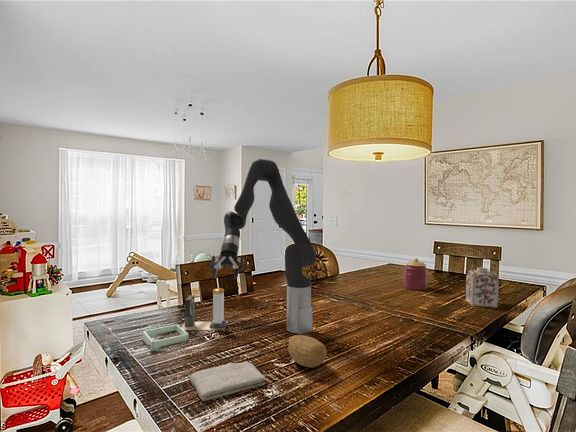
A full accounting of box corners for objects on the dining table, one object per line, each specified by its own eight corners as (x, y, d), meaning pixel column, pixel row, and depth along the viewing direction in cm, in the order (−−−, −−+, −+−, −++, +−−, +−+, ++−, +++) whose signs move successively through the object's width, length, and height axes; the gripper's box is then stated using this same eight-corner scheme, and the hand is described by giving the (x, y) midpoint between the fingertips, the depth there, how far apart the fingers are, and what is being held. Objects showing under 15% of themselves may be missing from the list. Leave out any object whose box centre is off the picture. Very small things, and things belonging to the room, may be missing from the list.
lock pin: (224, 323, 135) (224, 288, 134) (222, 327, 130) (223, 291, 130) (213, 323, 135) (214, 288, 134) (211, 327, 130) (212, 291, 130)
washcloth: (267, 386, 91) (267, 374, 91) (201, 405, 82) (201, 392, 82) (249, 367, 102) (249, 357, 102) (188, 383, 93) (188, 371, 93)
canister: (429, 287, 204) (429, 257, 204) (424, 291, 193) (425, 260, 193) (406, 284, 211) (407, 255, 211) (401, 288, 200) (401, 258, 200)
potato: (303, 352, 112) (304, 328, 111) (334, 369, 100) (334, 342, 100) (279, 360, 106) (279, 334, 106) (308, 378, 95) (309, 350, 94)
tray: (188, 342, 118) (188, 334, 118) (152, 351, 111) (152, 342, 111) (176, 332, 128) (176, 324, 128) (142, 339, 121) (142, 330, 121)
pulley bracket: (227, 324, 137) (228, 294, 137) (224, 332, 128) (224, 300, 128) (185, 324, 137) (185, 294, 136) (178, 332, 128) (178, 300, 127)
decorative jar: (471, 306, 166) (472, 269, 166) (465, 299, 177) (465, 265, 177) (498, 308, 163) (500, 270, 163) (490, 301, 175) (491, 266, 174)
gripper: (213, 241, 152) (206, 272, 141) (245, 242, 151) (240, 273, 140) (215, 252, 157) (209, 282, 146) (246, 252, 157) (242, 283, 146)
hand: (224, 277), depth 143 cm, fingers open, 8 cm apart
